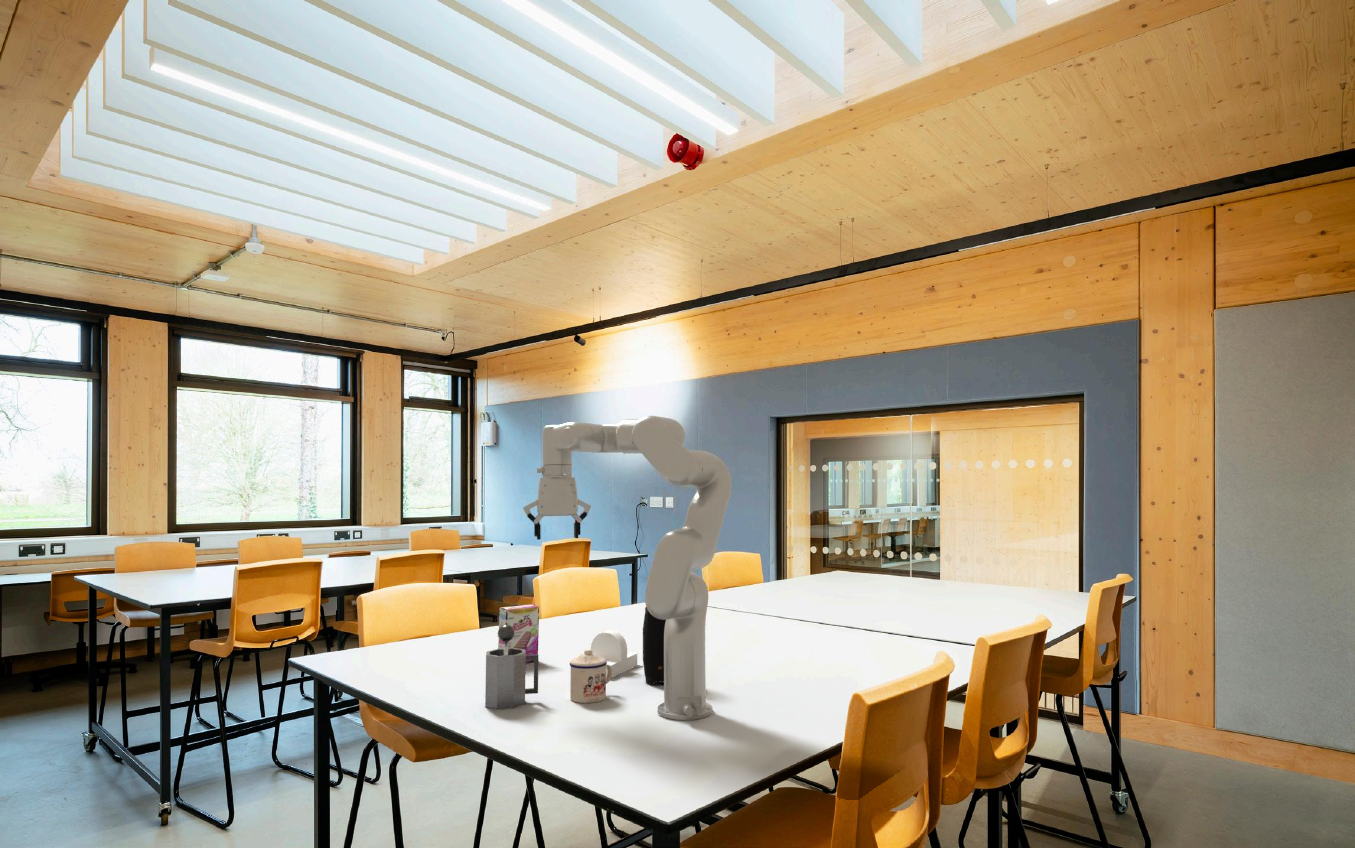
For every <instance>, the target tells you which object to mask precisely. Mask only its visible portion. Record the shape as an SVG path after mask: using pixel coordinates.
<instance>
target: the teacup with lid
mask: <svg viewBox="0 0 1355 848" xmlns="http://www.w3.org/2000/svg"><path fill="white" fill-rule="evenodd" d="M583 652H584V653H581V654H579V656H577V657H574V658H572V659H571V660H570V661H569V666H570V679H569V680H570V681H569V682H570V684H569V685H570V693H569V694H570V696H569V697H570V700H571V701H572V702H575V703H579V704H592V703H593V702H594V703H598V702H602V701H604V700H605V699H606V697H607V687H606V686H607V684H609V682H610V681H611V679H612V678H611V676H612V668H611V666H610V665H608V664H607V662H606V659H604V658H602V657H599V656H597V655H596V654H593V653H592V650H591V648H590V649H589V648H588V649H584V651H583ZM606 667H607V669H608V674H607V677H606ZM601 700H602V701H601Z"/></svg>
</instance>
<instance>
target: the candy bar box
mask: <svg viewBox="0 0 1355 848" xmlns="http://www.w3.org/2000/svg"><path fill="white" fill-rule="evenodd" d="M498 613H499V615H498V616H499V617H498V629H499V628H500V627H501V626H503V625H510V626H512V627H513V628H514V631H515V634H514V637H513V639H512V640H510V641H508V648H518V649H525V652H526V655H534V654H538V655H539V633H540V632H539V630H540V629H539V628H540V626H539V625H540V623H539V622H540V606H538V605H536V604H523V605H514V606H504V607H499V611H498ZM497 644H498V645H497V647H498V648H497V649H503V648H504V642H503V641H501V640H500V639H499V638H498V643H497ZM530 661H534V660H526V662H529V663H531V662H530Z"/></svg>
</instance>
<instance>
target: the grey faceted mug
mask: <svg viewBox="0 0 1355 848" xmlns="http://www.w3.org/2000/svg"><path fill="white" fill-rule="evenodd" d="M526 660H534V662H533V687H532V688H529V687H528V688H526ZM484 692H485V694H484V697H485V701H484V702H485V704H484V705H485V708H487V707H488V709H492V708H493V710H507V709H508V708H510V709H515V708H518V706H519V707H521V705H522V706H525V705H526V695H530V694H531V695H532V694H539V653H538V654H534V655H526V652H525V649H518V648H508V656H504V648H503V649H498V648H496V649H491V650H488V651H487V650H486V652H485V691H484Z"/></svg>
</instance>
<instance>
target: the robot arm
mask: <svg viewBox="0 0 1355 848" xmlns="http://www.w3.org/2000/svg"><path fill="white" fill-rule="evenodd" d="M685 439H686V432H685V429H684V427H683V425H682V424H681V423H680V422H679V421H677V420H675V419H673V418H669V417H662V416H658V415H657V416H656V415H647V416H644V417H642V418H627V419H623V420H621V421H620V422H618V423H616V424H611V423H610V424H599V423H598V424H597V423H589V422H582V421H581V422H580V421H571V422H570V421H569V422H565V423H562V424H550V425H549V424H548V425H545V426H544V427H543V429H542V442H541V443H542V465H541V467H538V468H537V467H536V474H540V475H542V477H539V481H538V491H537V499H535V500H534V501H532V502H530V503H529V504H526V505H525V506H523V508H522V510H523V511H524V513H525V515H526V516H527V517H526V518H528V519H529V520H530V521H531V522H532V523H533V526H534V527H533V530H534V531H533V534H534V535H533V536H534V537H536V540H539V541H540V540H541V532H542V531H541V529H542V528H541V527H542V526H541V523H540V521H541V520H542V519H543V518H544V517H563V516H565V517H569V516H570V517H572V518H573V519H574V523H573V538H575V539H579V536H581V523H582V521H583V520H584V519H585V518H586V517H587V516H588V515H589V512H590V509H591V505H590V504H589V503H586V502H584V501H582V500H580V499H578V489H577V487H578V486H577V481H576V477H574V476H573V472H572V470H573V469H572V464H573V463H572V461H573V458H572V455H573V453H572V452H578V453H579V452H580V453H581V452H583V453H595V454H596V453H597V454H602V453H603V454H604V453H606V454H607V453H609V454H610V453H611V454H612V453H614V454H615V453H616V454H618V453H619V454H620V453H622V454H624V455H625V454H627V455H628V454H641V455H642V456H643V457H644V458H645V459H646V460H647V461H648V462H649V464H651V466H652V467H653V468H654V469H655V470H656V471H657V473H659V474H660V476H661V478H663V479H664V480H665V481H666V482H668V483H669V484H671V485H672V486H675V487H679V488H680V487H681V488H686V487H687V488H696V492H695V494H694V496H693V498H692V499H691V501H690V503H689V505H688V507H687V511H686V512H687V513H686V516H685V519H684V523H683V525H682V527H681V528H678V529H677V528H676V529H673V530H671V531H669V532H667V533H666V534H664V535H663V536H662V538H660V540H659V542H658V544H657V546H656V549H655V552H654V555H653V560H652V562H651V566H650V569H649V574H648V578H647V581H646V585H645V588H644V604H645V607H647V609H648V611H649V612H650V614H651V615H653V616H654V617H656V618H658V619H662V620H666V623H665V629H664V682H663V694H664V696H663V700H664V701H663V702H662V703H661V704H659V705H658V706H657V714H658V715H659V716H661V717H663V718H666V719H670V720H677V721H690V720H691V721H692V720H701V719H704V718H708V717H710V715H712V714H713V711H714V710H713V706H712V705H711V704H710V703H709V702H707V701H706V700H707V699H706V697H707V696H706V695H707V694H706V693H707V692H706V690H707V688H706V686H707V685H706V684H707V683H706V622H707V621H706V619H707V612H708V604H709V590H708V585H707V583H706V581H705V580H704V579H703V578H702V577H701V576H700V575H699V574H698V573H695V572H693V571H695V570H696V571H697V570H700V569H704V568H706V567H708V566H709V565H710V564H711V562H712V561H713V559H714V556H715V552H716V549H717V545H718V543H719V542H718V541H719V538H720V534H721V531H722V527H723V522H724V518H725V514H726V511H727V508H728V504H729V502H730V497H731V493H732V485H733V484H732V476H731V473H730V471H729V469H728V466H727V465H726V464H725V462H724V461H723V460H722V459H721V458H720V457H719V456H717V455H715V454H714V453H711V452H710V451H706V450H699V449H697V450H696V449H686V448H685V447H684V446H683V445H684V443H685ZM579 506H580V507H583V510H582V513H581V514H580V515H579V514H578V510H579ZM534 507H536V509H537V511H536V512H537V515H536V516H534V515H533V514H532V512H531V509H533V508H534Z"/></svg>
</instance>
